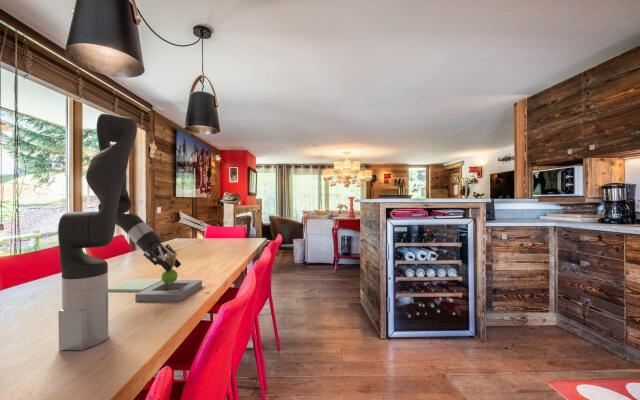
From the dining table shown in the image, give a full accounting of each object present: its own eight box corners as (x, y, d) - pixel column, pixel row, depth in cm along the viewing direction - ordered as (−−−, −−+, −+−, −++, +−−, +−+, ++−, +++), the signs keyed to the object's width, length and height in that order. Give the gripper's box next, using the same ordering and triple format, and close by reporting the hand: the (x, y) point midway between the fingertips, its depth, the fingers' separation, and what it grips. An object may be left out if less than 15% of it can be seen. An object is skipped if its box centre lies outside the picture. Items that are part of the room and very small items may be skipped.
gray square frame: (179, 301, 104) (179, 294, 104) (135, 301, 105) (135, 294, 105) (202, 286, 122) (202, 280, 122) (164, 285, 123) (164, 279, 123)
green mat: (142, 291, 115) (142, 289, 115) (107, 291, 116) (107, 289, 116) (163, 281, 129) (163, 279, 129) (132, 281, 130) (131, 279, 130)
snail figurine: (181, 281, 116) (181, 250, 116) (172, 285, 110) (172, 253, 110) (168, 280, 117) (168, 250, 117) (158, 285, 110) (158, 253, 110)
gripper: (139, 232, 106) (171, 265, 106) (162, 228, 121) (190, 257, 120) (124, 246, 107) (157, 280, 106) (149, 241, 121) (177, 270, 120)
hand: (174, 267), depth 113 cm, fingers closed on snail figurine, 6 cm apart
